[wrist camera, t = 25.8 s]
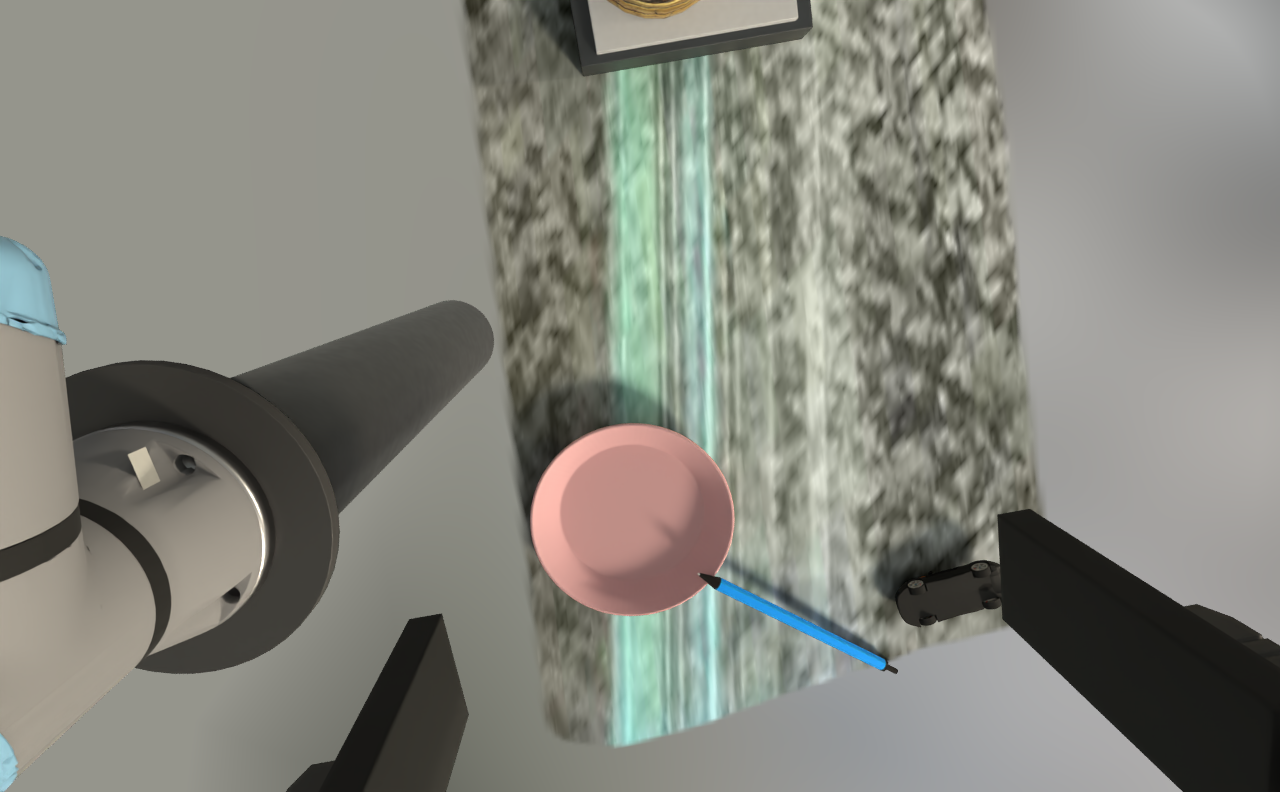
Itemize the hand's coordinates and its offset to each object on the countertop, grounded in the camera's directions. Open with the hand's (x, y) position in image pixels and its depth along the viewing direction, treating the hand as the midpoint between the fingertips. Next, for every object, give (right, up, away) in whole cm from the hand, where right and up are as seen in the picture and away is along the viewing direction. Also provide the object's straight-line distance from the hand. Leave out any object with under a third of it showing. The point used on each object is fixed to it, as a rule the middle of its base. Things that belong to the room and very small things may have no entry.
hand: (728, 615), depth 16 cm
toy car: (+21, -10, +33) cm, 41 cm away
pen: (+10, -12, +34) cm, 37 cm away
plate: (-3, -3, +33) cm, 33 cm away
